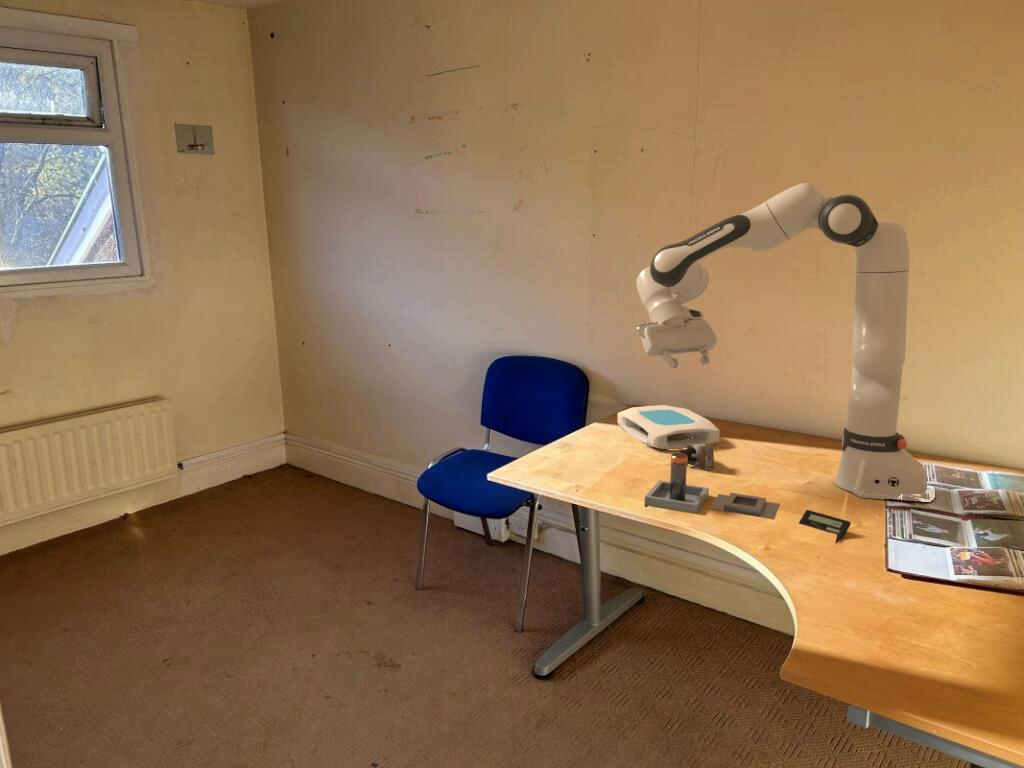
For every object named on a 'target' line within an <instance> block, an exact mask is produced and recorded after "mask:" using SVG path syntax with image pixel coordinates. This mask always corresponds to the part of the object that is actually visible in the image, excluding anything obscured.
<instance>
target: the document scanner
mask: <svg viewBox="0 0 1024 768" xmlns="http://www.w3.org/2000/svg"><path fill="white" fill-rule="evenodd" d="M617 424H618V425H619V426H620V428H621V429H622V430H623V431H624V432H625V433H626V434H627V433H628V434H627V435H628V436H630V435H631V436H630V437H632V438H633V437H634V438H636V439H637V440H639V441H640V442H642V443H643V444H646V445H647V446H646V445H645V446H646V447H650V448H654V447H655V448H656V449H660V450H664V449H665V451H669V450H668V449H683V448H687V445H688V444H708V443H713V445H714V444H716V443H718V442H720V435H721V434H720V433H721V430H720V429H719V428H718V427H717V426H716V425H715V424H714V423H713V422H712V421H710V419H707V418H706V417H704V416H702V415H700V414H698V413H696V412H694V411H692V410H689V409H688V408H684V407H677V406H671V405H666V404H660V405H646V406H636V407H635V406H634V407H633V406H632V407H629V408H627V409H625V410H622V411H619V412H617ZM640 429H641V430H640ZM643 430H644V431H645V432H646V433H645V432H644V431H643ZM684 433H685V434H684ZM675 434H676V435H677V434H684V435H686V434H687V435H686V436H688V435H689V436H690V437H692V438H693V439H692V438H690V437H689V436H688V437H689V439H683V440H681V439H680V440H668V437H670V436H672V435H675ZM634 438H633V439H634ZM636 439H635V440H636ZM637 440H636V441H637ZM639 441H638V442H639ZM640 442H639V443H640ZM642 443H641V444H642ZM643 444H642V445H643ZM683 450H684V449H683Z"/></svg>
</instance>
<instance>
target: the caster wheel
mask: <svg viewBox="0 0 1024 768" xmlns="http://www.w3.org/2000/svg"><path fill="white" fill-rule="evenodd" d="M714 446H715V445H714V444H713V443H708V444H688V445H687V449H683V450H679V453H683V454H686V455H687V456H688V457H687V465H688V464H690V465H693V466H691V467H690V468H704V469H705V470H711V469H714V468H715V453H714V451H715V450H714ZM713 467H714V468H713Z"/></svg>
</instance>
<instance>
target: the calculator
mask: <svg viewBox="0 0 1024 768" xmlns="http://www.w3.org/2000/svg"><path fill="white" fill-rule="evenodd" d="M798 524H799V525H803V526H806V527H810V528H813V529H817V530H819V531H823V532H826V533H831V534H833V535H836V537H835V542H834V543H835V545H837V543H838V542H840V541H841V540H842V539H844V537H845V535H846V533H847V531H848V530H849V528H850V526H851V521H849V520H845V519H843V518H838V517H836V516H831V515H828V514H823V513H820V512H816V511H814V510H809V509H806V510H805V511H804V513H803V515H802V517H801V519H800V520H799V521H798Z"/></svg>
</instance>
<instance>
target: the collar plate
mask: <svg viewBox="0 0 1024 768" xmlns="http://www.w3.org/2000/svg"><path fill="white" fill-rule="evenodd" d="M780 506H781V503H777V502H772V501H767V497H760V496H755V495H749V494H748V495H747V494H743V493H742V494H741V493H734V492H730V494H729V495H726V494H720V493H719V494H717V496H716V497H715V499H714V501H713V502H712V504H711V505H710V506H709V510H715V511H720V512H726V513H733V514H737V515H745V516H751V517H754V518H755V517H757V518H763V519H768V520H769V519H770V520H775V517H776V516H777V515H776V514H777V512H778V510H779V507H780Z"/></svg>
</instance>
